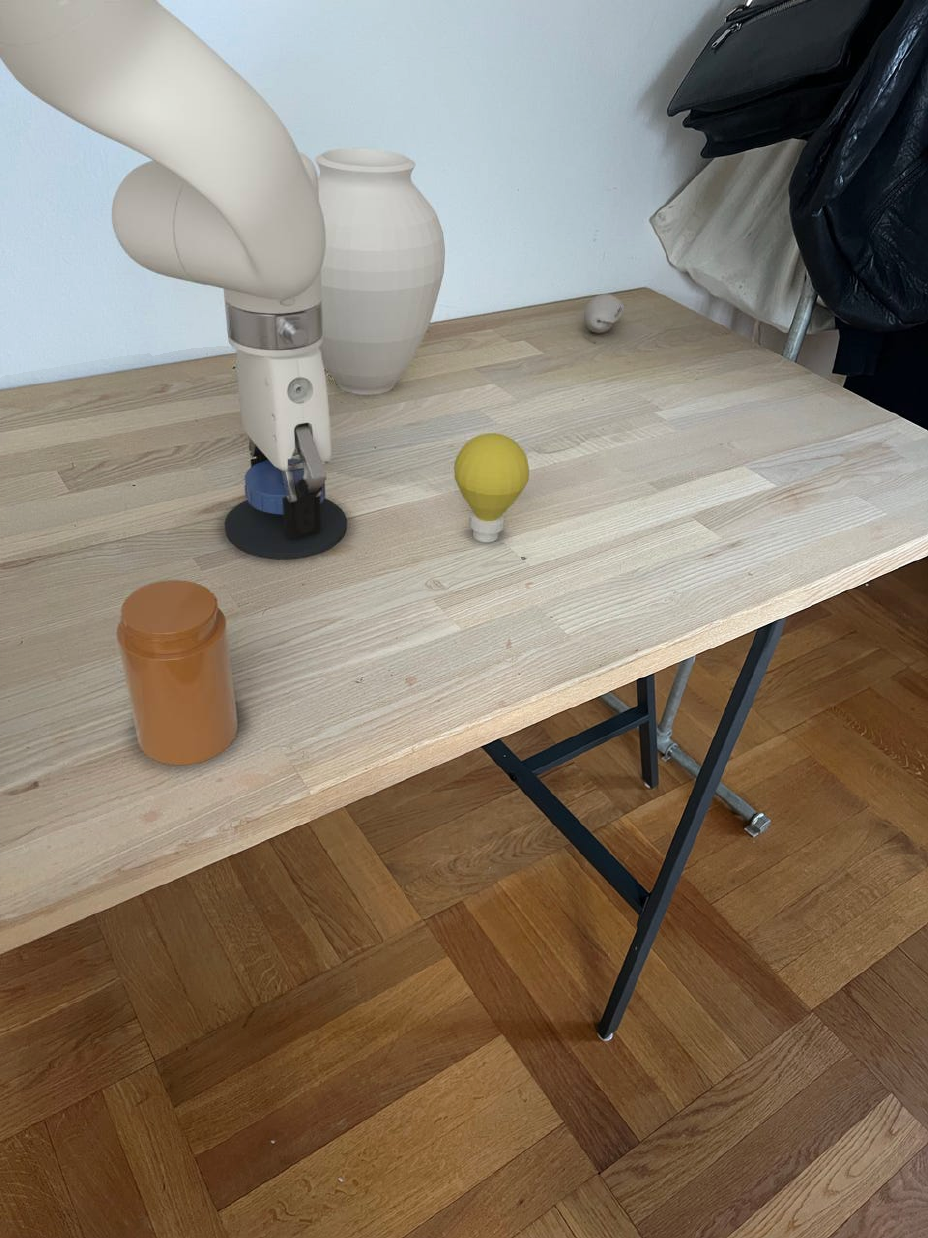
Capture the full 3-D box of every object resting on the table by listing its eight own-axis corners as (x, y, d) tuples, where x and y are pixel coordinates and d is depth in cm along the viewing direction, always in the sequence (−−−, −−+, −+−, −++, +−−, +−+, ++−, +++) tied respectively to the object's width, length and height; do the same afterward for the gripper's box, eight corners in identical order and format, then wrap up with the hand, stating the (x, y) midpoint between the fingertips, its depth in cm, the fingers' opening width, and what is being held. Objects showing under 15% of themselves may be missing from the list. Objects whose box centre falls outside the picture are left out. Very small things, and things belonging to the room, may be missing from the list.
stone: (614, 346, 128) (620, 310, 125) (576, 340, 129) (581, 304, 126) (623, 324, 136) (629, 289, 133) (587, 318, 137) (592, 284, 134)
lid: (307, 470, 87) (306, 452, 86) (337, 505, 82) (337, 486, 81) (235, 484, 84) (233, 466, 83) (262, 521, 79) (260, 502, 78)
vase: (343, 426, 102) (339, 182, 87) (263, 372, 113) (248, 146, 98) (467, 393, 112) (484, 168, 97) (383, 346, 122) (386, 136, 107)
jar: (153, 778, 60) (128, 650, 53) (126, 715, 64) (100, 591, 58) (251, 745, 63) (239, 620, 56) (219, 687, 67) (204, 566, 61)
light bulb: (531, 528, 88) (544, 431, 82) (504, 562, 83) (515, 462, 77) (467, 510, 90) (475, 414, 84) (437, 542, 85) (443, 442, 79)
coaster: (250, 571, 79) (249, 565, 79) (208, 511, 86) (208, 505, 86) (366, 542, 84) (366, 536, 84) (318, 487, 91) (317, 482, 91)
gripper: (365, 353, 70) (365, 552, 80) (278, 283, 81) (288, 465, 92) (270, 368, 66) (283, 573, 77) (194, 292, 78) (215, 480, 89)
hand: (286, 513), depth 84 cm, fingers closed on lid, 7 cm apart
